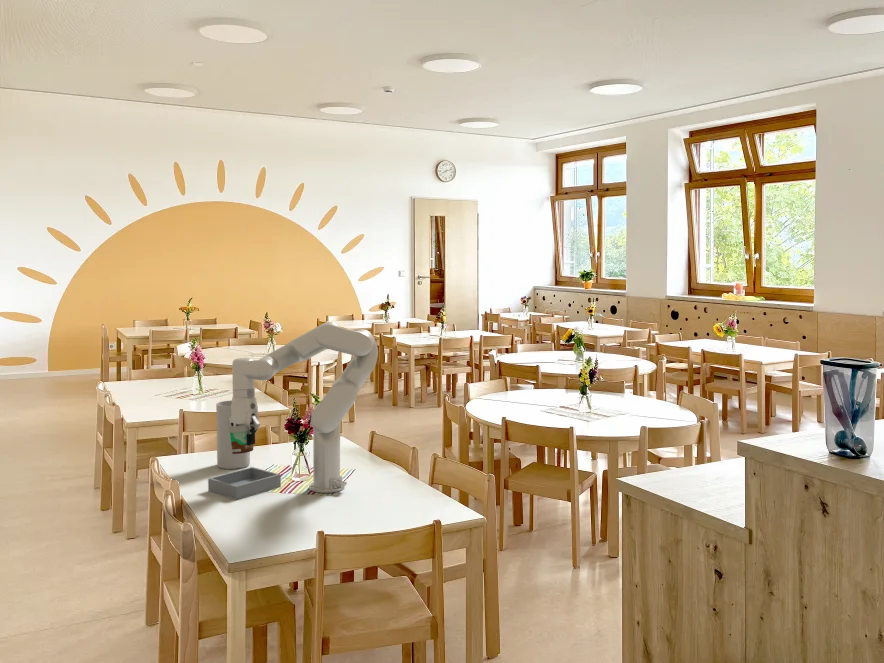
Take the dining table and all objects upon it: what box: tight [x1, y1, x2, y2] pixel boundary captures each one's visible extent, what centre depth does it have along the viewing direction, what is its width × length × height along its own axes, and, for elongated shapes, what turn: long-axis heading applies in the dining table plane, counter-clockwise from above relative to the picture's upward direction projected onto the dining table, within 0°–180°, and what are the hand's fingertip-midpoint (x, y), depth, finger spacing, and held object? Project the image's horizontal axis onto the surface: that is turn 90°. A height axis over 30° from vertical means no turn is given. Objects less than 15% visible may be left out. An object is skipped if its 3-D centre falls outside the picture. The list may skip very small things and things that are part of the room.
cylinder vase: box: [215, 399, 251, 470], centre depth 311 cm, size 12×12×25 cm
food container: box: [229, 424, 254, 454], centre depth 280 cm, size 12×6×10 cm, turn 165°
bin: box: [207, 466, 282, 500], centre depth 282 cm, size 16×20×4 cm
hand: (244, 442), depth 280 cm, fingers closed on food container, 6 cm apart
